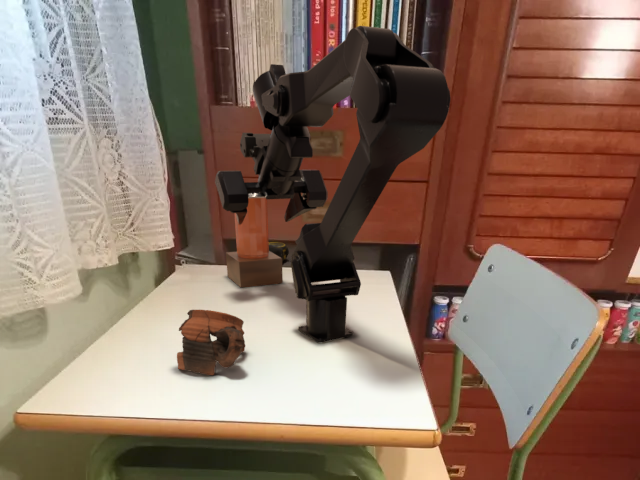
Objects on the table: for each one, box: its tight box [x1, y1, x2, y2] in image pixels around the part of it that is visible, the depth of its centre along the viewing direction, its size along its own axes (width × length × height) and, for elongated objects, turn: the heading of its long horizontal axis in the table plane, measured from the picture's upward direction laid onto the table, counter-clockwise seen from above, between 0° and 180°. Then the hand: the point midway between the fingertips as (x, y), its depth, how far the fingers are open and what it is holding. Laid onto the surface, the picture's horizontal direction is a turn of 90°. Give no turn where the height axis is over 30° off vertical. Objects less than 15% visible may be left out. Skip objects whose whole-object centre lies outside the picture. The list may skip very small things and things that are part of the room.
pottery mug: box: [176, 309, 246, 376], centre depth 64 cm, size 12×9×8 cm
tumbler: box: [233, 198, 270, 259], centre depth 95 cm, size 6×6×12 cm
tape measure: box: [269, 241, 290, 262], centre depth 114 cm, size 7×7×4 cm
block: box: [225, 251, 283, 289], centre depth 99 cm, size 9×9×5 cm
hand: (262, 221), depth 89 cm, fingers open, 9 cm apart
